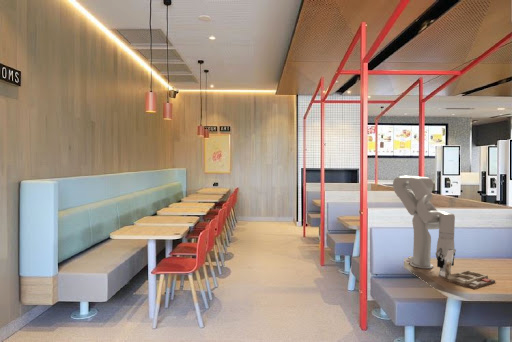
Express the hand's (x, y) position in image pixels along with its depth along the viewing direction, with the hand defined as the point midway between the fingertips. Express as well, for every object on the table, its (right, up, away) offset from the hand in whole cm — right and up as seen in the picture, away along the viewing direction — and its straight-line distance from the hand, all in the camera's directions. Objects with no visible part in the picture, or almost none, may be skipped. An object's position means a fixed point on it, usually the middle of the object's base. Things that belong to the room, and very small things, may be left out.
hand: (445, 266), depth 200 cm
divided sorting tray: (+8, -6, -9) cm, 13 cm away
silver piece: (0, -6, 0) cm, 6 cm away
